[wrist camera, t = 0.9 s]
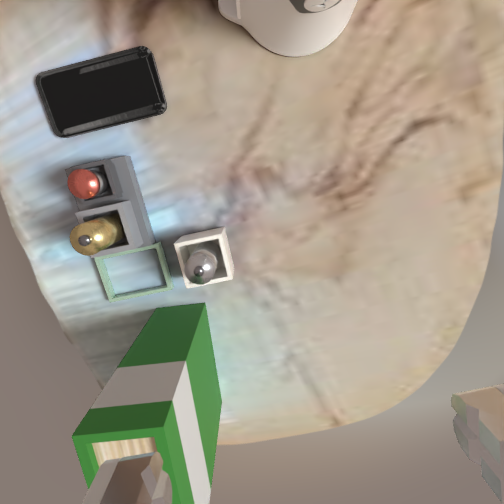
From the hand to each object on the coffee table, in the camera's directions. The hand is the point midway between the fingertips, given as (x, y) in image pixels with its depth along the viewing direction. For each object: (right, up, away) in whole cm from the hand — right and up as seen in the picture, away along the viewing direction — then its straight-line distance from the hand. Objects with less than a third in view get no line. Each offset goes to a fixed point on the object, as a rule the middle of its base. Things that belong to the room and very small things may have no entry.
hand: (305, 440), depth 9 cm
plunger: (-21, +14, +32) cm, 41 cm away
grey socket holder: (-20, +11, +36) cm, 43 cm away
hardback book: (-11, -11, +42) cm, 45 cm away
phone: (-20, +25, +33) cm, 46 cm away
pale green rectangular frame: (-18, +2, +39) cm, 43 cm away
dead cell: (-8, +5, +37) cm, 38 cm away
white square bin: (-8, +5, +38) cm, 39 cm away
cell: (-20, +9, +35) cm, 41 cm away
